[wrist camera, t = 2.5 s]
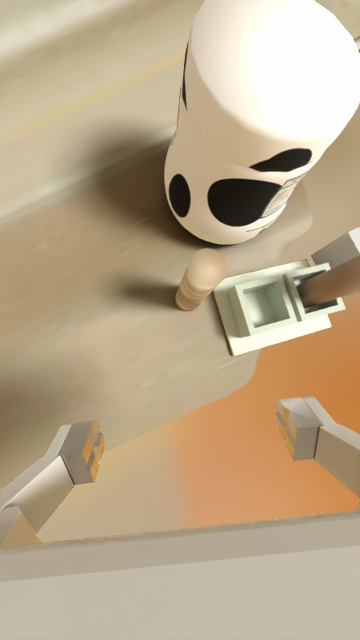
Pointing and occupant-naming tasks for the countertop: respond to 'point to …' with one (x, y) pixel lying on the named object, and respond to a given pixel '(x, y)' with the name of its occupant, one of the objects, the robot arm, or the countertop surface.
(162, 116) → the countertop surface
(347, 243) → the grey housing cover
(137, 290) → the countertop surface
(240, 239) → the milk container
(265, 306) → the pin board
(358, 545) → the robot arm
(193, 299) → the beech peg
